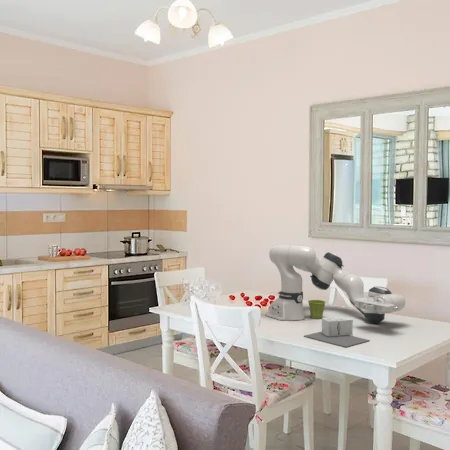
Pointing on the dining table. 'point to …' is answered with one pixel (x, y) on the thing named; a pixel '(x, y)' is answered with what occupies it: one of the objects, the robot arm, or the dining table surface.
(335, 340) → the mat
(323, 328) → the supplement box
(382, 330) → the dining table surface
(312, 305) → the plant pot
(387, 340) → the dining table surface
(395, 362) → the dining table surface
